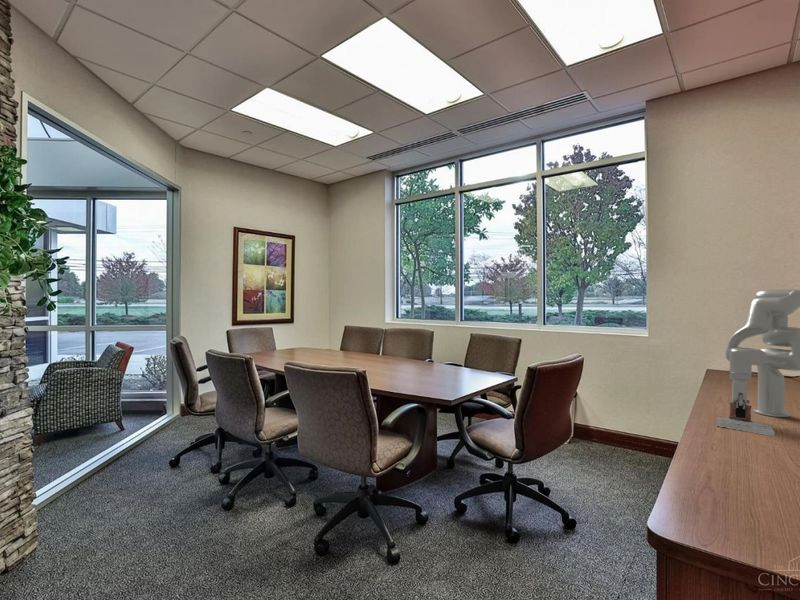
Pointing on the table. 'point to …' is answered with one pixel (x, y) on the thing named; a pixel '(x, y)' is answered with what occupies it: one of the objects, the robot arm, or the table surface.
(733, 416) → the lighter
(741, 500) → the table surface
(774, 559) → the table surface
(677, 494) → the table surface
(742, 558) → the table surface
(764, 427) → the track
